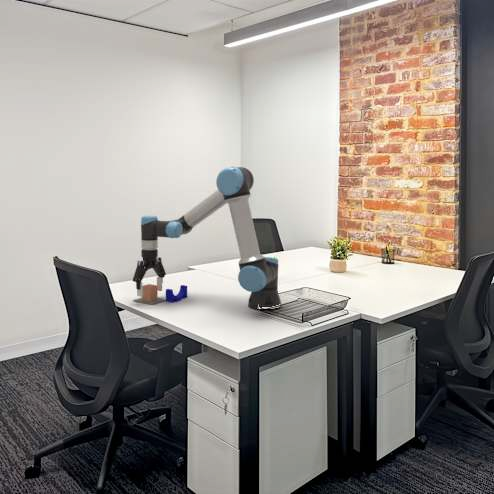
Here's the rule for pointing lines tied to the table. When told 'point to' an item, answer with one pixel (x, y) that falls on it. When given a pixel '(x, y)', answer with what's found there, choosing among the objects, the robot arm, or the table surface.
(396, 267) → the table surface
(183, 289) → the blue arch bracket
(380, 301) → the table surface
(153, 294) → the peach clay cube
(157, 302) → the stand
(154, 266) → the robot arm
